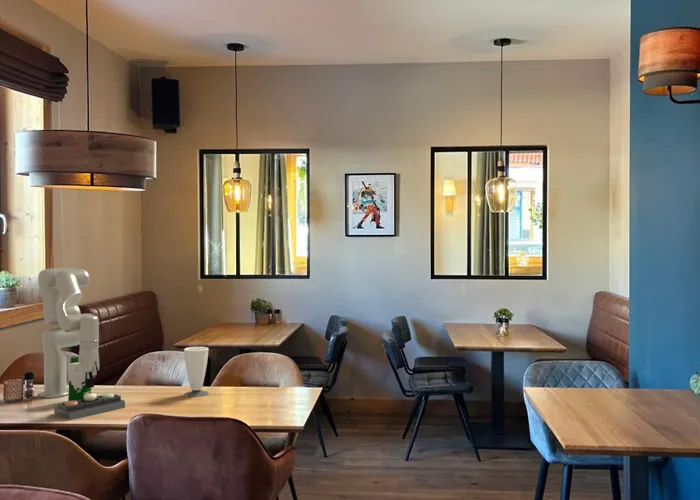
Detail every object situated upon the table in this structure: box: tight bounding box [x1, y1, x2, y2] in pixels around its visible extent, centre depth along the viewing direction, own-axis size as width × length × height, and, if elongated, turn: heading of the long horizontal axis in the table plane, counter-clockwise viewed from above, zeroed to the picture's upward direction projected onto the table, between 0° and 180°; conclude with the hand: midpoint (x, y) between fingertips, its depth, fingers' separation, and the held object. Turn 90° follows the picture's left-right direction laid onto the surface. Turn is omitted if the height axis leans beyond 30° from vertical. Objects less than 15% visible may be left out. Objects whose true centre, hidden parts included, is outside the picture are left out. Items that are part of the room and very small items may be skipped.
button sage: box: [101, 392, 115, 399], centre depth 259 cm, size 5×5×2 cm
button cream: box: [84, 392, 98, 401], centre depth 253 cm, size 5×5×2 cm
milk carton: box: [66, 356, 92, 401], centre depth 267 cm, size 9×9×20 cm
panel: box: [53, 393, 126, 421], centre depth 253 cm, size 14×24×5 cm, turn 139°
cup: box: [183, 346, 210, 398], centre depth 280 cm, size 12×12×22 cm
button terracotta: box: [64, 400, 78, 407], centre depth 247 cm, size 5×5×2 cm
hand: (89, 387), depth 252 cm, fingers closed
